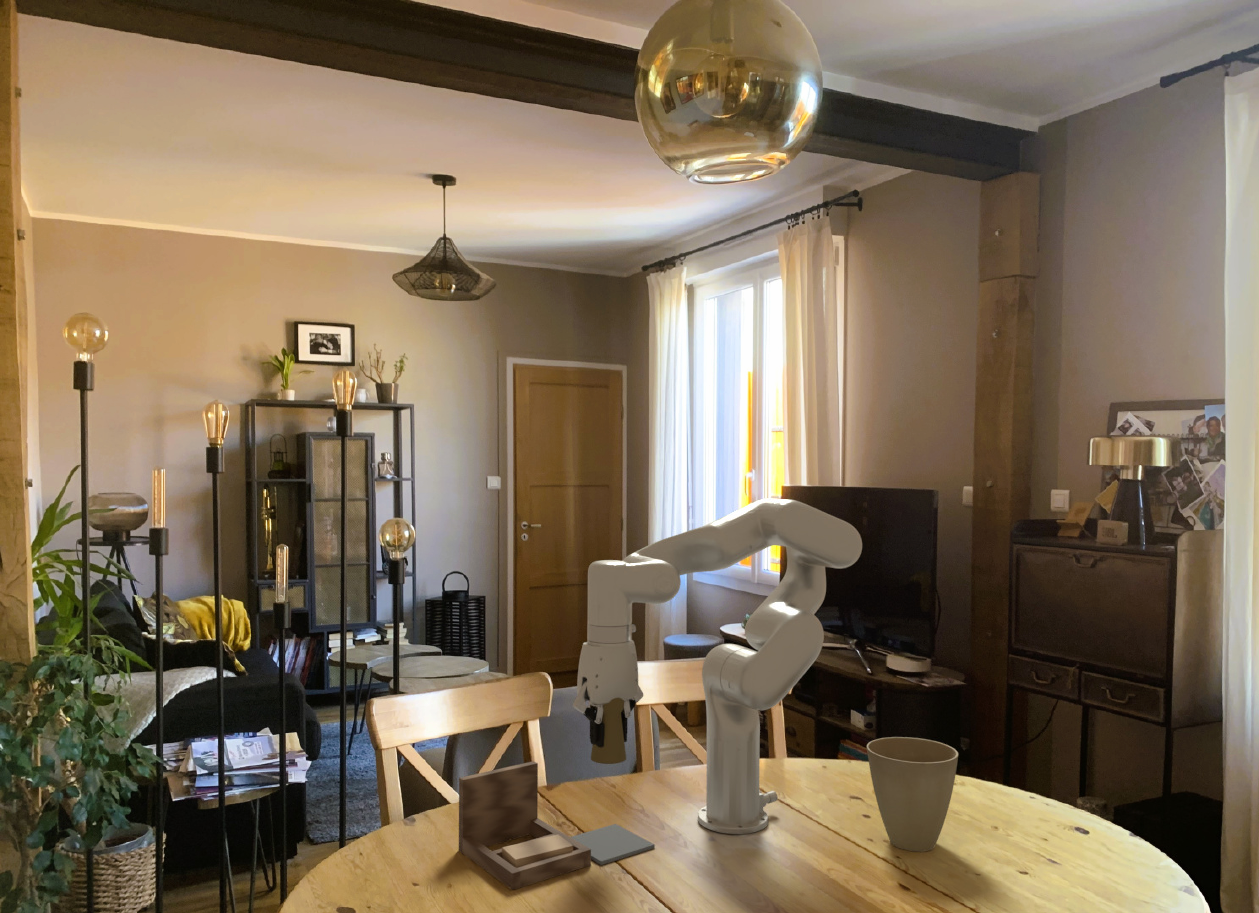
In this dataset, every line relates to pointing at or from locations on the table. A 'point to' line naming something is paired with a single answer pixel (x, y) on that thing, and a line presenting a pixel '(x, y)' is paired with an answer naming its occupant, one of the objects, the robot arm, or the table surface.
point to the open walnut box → (509, 825)
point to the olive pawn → (611, 735)
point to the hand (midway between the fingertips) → (608, 741)
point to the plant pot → (912, 788)
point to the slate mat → (612, 843)
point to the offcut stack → (535, 850)
